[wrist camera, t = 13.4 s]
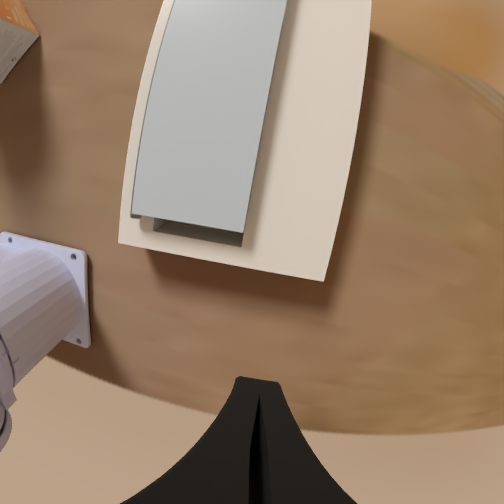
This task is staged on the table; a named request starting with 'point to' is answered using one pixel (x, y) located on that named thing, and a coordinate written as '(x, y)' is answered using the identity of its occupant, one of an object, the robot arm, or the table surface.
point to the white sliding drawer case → (279, 148)
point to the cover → (207, 112)
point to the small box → (14, 34)
